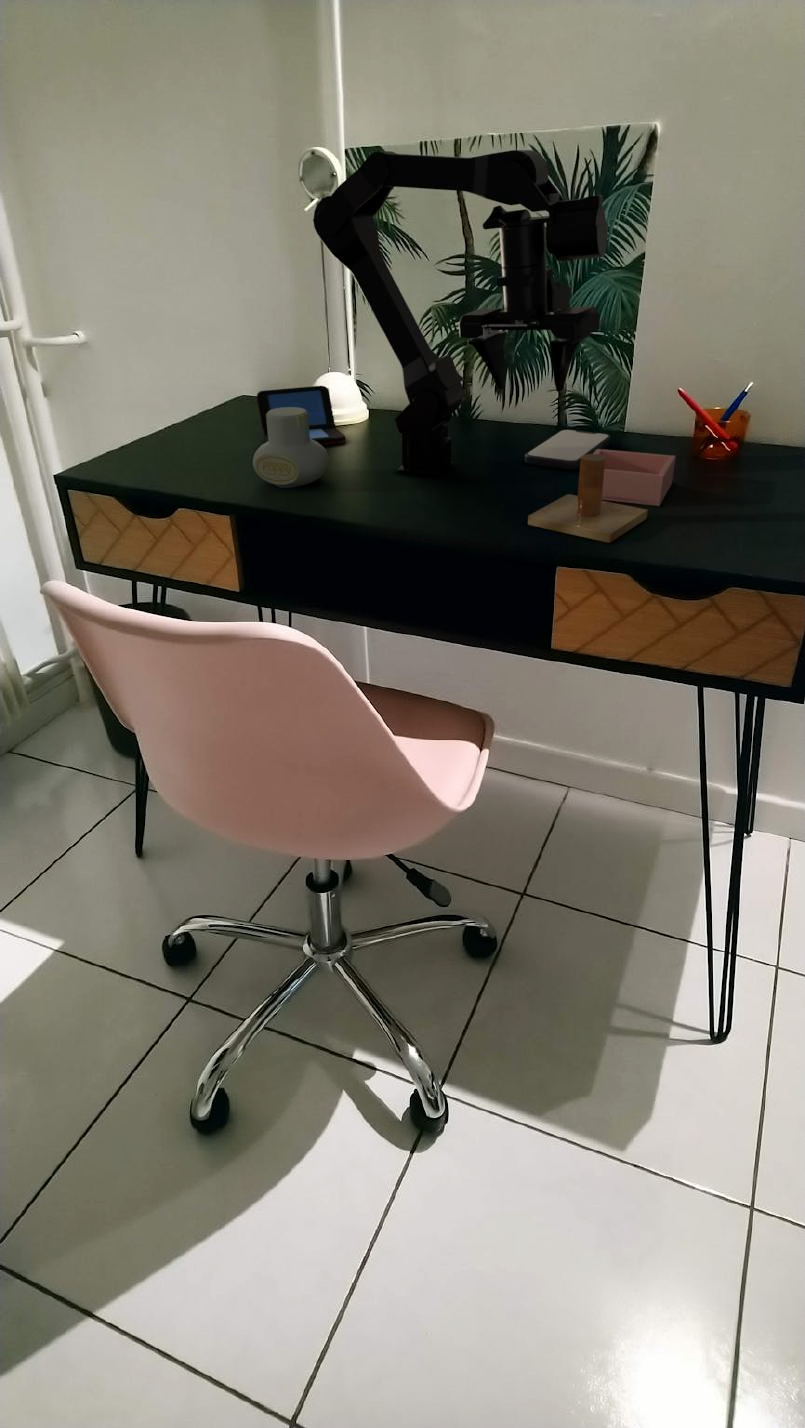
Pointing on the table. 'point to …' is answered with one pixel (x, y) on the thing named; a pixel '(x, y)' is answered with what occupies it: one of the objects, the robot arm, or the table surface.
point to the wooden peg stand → (589, 508)
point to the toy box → (636, 476)
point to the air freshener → (290, 450)
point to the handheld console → (312, 402)
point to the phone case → (566, 449)
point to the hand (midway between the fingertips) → (530, 389)
